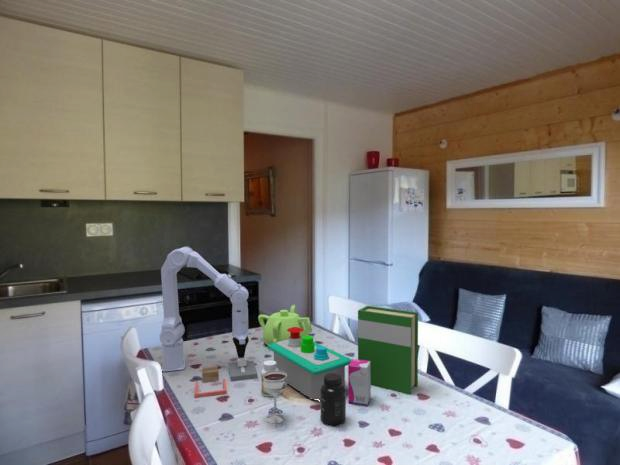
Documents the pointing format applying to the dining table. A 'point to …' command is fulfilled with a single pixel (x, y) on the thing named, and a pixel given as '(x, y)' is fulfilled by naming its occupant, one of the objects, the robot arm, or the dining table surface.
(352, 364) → the supplement box
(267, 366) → the supplement bottle
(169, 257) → the robot arm
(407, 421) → the dining table surface
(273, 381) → the wineglass
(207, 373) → the block
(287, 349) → the control panel
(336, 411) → the supplement bottle
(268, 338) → the teapot
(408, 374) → the hardback book
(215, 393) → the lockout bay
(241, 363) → the switch
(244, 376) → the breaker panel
